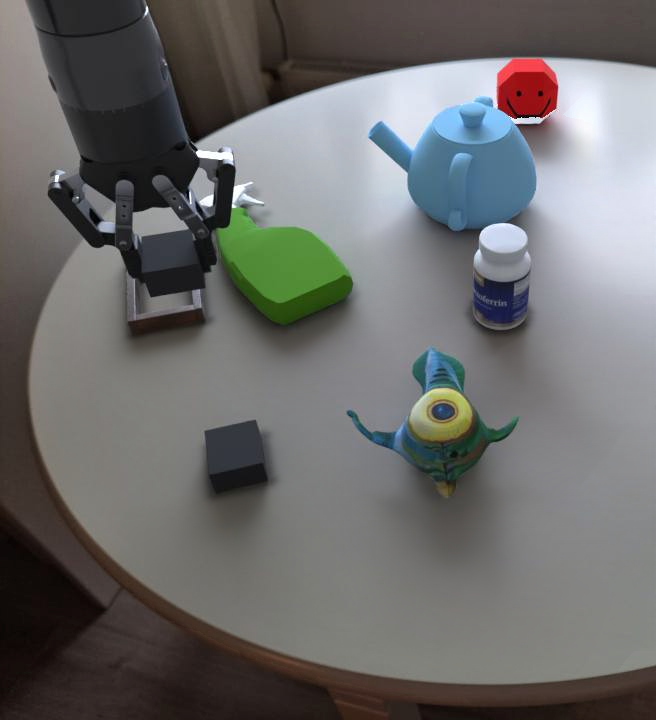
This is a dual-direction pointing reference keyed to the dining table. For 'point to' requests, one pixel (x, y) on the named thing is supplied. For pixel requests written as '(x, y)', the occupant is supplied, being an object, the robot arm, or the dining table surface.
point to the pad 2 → (235, 456)
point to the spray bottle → (279, 264)
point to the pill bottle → (501, 277)
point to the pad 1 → (171, 263)
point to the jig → (160, 318)
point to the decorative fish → (440, 424)
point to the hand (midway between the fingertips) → (176, 271)
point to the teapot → (465, 165)
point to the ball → (527, 89)
